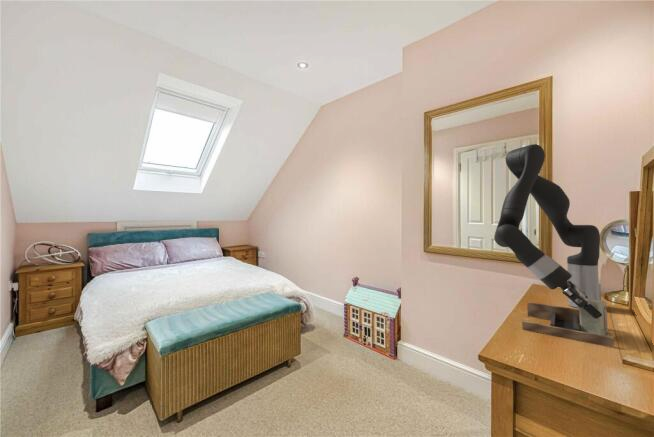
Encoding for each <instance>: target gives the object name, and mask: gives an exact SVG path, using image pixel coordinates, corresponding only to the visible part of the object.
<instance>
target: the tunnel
mask: <svg viewBox="0 0 654 437" xmlns="http://www.w3.org/2000/svg"><path fill="white" fill-rule="evenodd" d="M526 306H527V317H530V316H532V318H535V319H542V320H548V321H550V323H549V324H541V323H537V322H531V321H525V320H522V322H521V323H522V326H521V327H522V328H521V329H522V330H523V329H524V330H525V331H529V332H535V333H539V334H545V335H549V336H553V337H559V338H563V339H569V340H573V341H574V340H575V341H578V342H584V343H589V344H594V345H600V346H604V347H609V348H614V340H615V339H614V337H613V336H610V333H609V332H608V335H604V336H603V335H598V334H592V333H587V332H582V331H580V314H579V308H575V307H572V308H571V307H564V306H558V305H552V304H545V303H537V302H532V301H531V302H530V301H527V305H526Z"/></svg>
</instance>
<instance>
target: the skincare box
mask: <svg viewBox="0 0 654 437" xmlns="http://www.w3.org/2000/svg"><path fill="white" fill-rule="evenodd" d="M585 299H586V300H587V301H588V302H590V304H591V305H592V306H593V307H595V308H596V309H597V310H598V311H599V312H601V313H602V316H601V317H599V318H597V319H595V318H594V317H593V316H591V315H590V314H589V313H588V312H587V311H586V310H584V309H582V308H580V307H579V308H578V309H579V314H580V327H579V331H582V332H587V333H592V334H598V335H603V336H604V335H608V333H609V330H608V329H609V328H608V312H607V309H608V308H607V301H606V300H602V299H601V300H596V299H590V298H585ZM581 302H582V300H581V301H579V303H581Z"/></svg>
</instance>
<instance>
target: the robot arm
mask: <svg viewBox="0 0 654 437" xmlns="http://www.w3.org/2000/svg"><path fill="white" fill-rule="evenodd" d="M545 154H546V153H545V149H544V148H543V147H542V146H541V145H540V144H536V143H535V144H534V143H532V144H528V145H525V146H520V147H518V148H515V149H512V150H510V151H508V152H507V153H506V155H505V163H506V164H505V165H506V167H507V168H508V170H509V171H510V172H511V173H512V174H513V175H514V176H515V178H517V181H516V182H515V183H514V185H513V186H512V187H511V189H510V190H509V191H508V192H507V194H506V196H505V197H504V200H503V204H502V206H501V212H500V218H499V221H498V224H497V226H496V229H495V233H494V236H493V239H494V241H495V243H496V244H497V245H498V246H499V247H502V248H509V250H511V251H512V252H513V253H514V256H515V258H516V259H517V260H518V261H519V262H520V263H521V264H523V265H524V266H525V267H526V268H527V269H528V270H529V271H530V272H531V273H532V274H533V275H534V277H536V278H538V279H539V280H540V281H541V282H542V283H543V284H544V285H545V286H547V287H548V289H550V290H555V289H558V288H560V289H561V290H562V291H561V292H562V294H563V295H564V296H566V297H567V298H568V299H567V300H568V304H567V305H569V306H571V307H572V308H575V309H579V307H580V308H582V309H584V310H586V311H587V312H588V313H589V314H590V315H591V316H593V317H594V318H595V319H597V318H599V317H601V316H602V313H601V312H599V311H598V310H597V309H596V308H595V307H593V306H592V305H591V304H590V302H588V301H587V300H586V299H585V298H590V299H596V300H601V301H602V285H601V283H599V282H600V281H599V259H600V247H601V234H600V231H599V229H598V227H597V226H595V225H593V224H573V223H571V221H570V219H569V218H568V212H569V209H570V205H571V202H570V198H569V197H568V195H567V193H566V192H565V191H564V190H563V188H562V187H561V186H560V185H559V184H557V183H555V182H553V181H552V180H549V179H547V178H545V177H543V176H541V175H539V174H540V172H541V170H542V168H543V166H544V164H545V163H544V162H545V158H546V155H545ZM530 195H531V196H532V198H534V200H535V202H536V203H537V205H538V206H539V208H540V209H541V210H542V211H543V213H544V214H545V215H546V216H547V218H548V219H549V220H550V222H551V225H552V226H553V228H554V229H555V231H556V234H557V235H558V236H559V238H560V240H561V241H562V243H563V244H564V245H566V246H568V247H572V248H581V250H580V252H579V253H576V254H573V255H569V256H567V258H566V261H567V262H566V264H567V270H566V268H564V267H563V266H562V265H560V264H559V263H558V262H557V261H556V260H554V259H553V258H552V257H550V256H548V254H546V253H545V252H543V251H542V250H541V249H539V247H537V246H536V245H534V244H533V243H532V241H531V240H530V239H529V238H528V236H527V235H526V234H525V233H524V232H523V231H522V230H521V229H520V225H521V222H522V221H523V218H524V215H525V211H526V208H527V204H528V200H529V197H530ZM581 300H582V302H581V303H579V301H581Z"/></svg>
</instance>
